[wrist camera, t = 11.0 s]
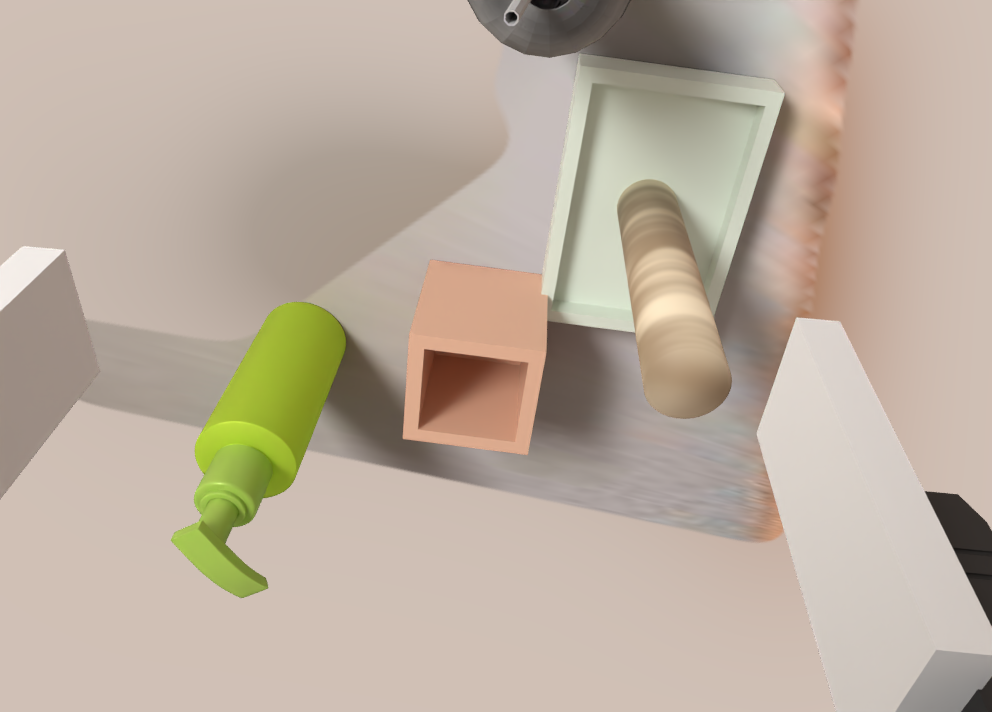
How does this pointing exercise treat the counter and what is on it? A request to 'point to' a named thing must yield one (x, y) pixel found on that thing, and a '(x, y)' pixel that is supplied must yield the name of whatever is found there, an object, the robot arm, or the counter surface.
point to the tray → (651, 175)
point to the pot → (476, 358)
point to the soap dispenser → (260, 435)
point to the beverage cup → (548, 23)
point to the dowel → (670, 306)
